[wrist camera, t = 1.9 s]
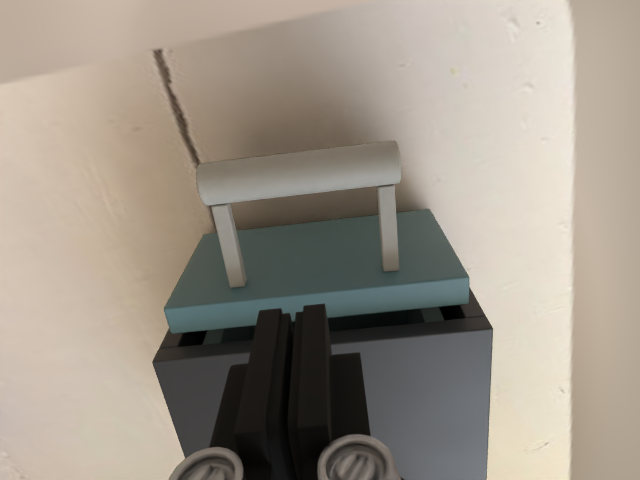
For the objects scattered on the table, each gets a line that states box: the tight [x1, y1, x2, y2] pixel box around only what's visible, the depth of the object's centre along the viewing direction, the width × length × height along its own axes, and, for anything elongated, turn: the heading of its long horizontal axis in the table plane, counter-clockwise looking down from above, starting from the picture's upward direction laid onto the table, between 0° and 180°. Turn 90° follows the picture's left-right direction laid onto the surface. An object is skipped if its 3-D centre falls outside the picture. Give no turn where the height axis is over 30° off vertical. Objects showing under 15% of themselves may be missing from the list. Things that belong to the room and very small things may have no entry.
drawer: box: [164, 140, 469, 345], centre depth 22 cm, size 18×11×7 cm, turn 7°
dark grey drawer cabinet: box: [152, 287, 493, 480], centre depth 24 cm, size 15×13×9 cm
